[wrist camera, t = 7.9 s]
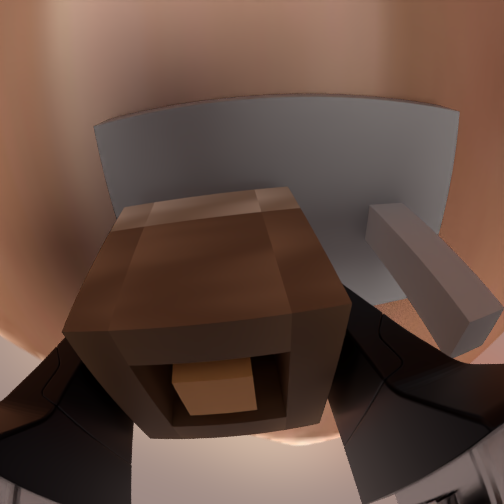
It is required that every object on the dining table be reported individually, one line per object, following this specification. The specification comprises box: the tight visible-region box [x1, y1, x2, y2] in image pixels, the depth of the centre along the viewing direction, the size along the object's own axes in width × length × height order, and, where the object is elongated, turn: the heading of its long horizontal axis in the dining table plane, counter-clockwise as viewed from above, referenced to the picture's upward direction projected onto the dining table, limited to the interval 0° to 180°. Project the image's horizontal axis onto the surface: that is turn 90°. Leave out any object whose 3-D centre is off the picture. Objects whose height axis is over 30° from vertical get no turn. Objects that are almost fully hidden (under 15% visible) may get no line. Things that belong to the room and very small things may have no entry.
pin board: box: [94, 94, 504, 415], centre depth 9 cm, size 14×10×8 cm
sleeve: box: [62, 186, 352, 439], centre depth 8 cm, size 5×5×5 cm
